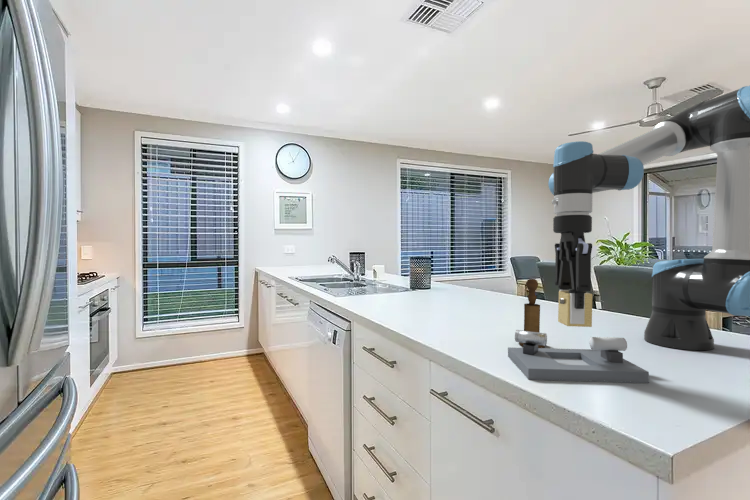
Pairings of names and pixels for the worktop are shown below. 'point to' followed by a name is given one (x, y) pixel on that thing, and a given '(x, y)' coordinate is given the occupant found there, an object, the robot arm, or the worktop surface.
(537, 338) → the shaft
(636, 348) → the worktop surface
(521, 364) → the grey frame with rollers
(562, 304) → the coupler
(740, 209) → the robot arm
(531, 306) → the brown tall knobbed post
